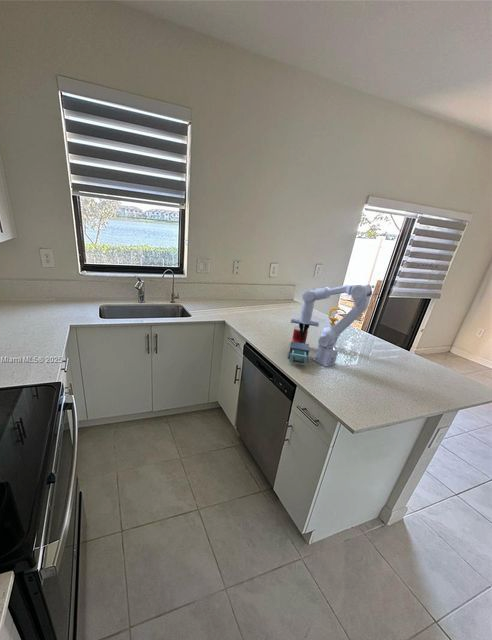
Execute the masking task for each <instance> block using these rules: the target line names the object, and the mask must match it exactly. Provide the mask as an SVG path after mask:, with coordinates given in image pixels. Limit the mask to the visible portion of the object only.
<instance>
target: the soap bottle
mask: <svg viewBox="0 0 492 640" xmlns="http://www.w3.org/2000/svg"><path fill="white" fill-rule="evenodd" d="M340 309H341V308H340V307H339V306H334V307H331V308H330V309H329V312H328V318H329V320H330V321H331V322H329V324H328V326H326V327H324V328H323V329H322V332H321V335H320V336H322V335H325V334H326V333H327V332H328V331H330V330H331V329H332V328H333V327H334V326H335V325H336V323H335V322H336V321H337V322H339V318H337V317H332V316H331V315H332V312H333V311H336V310H340ZM336 346H337V341H336V342H335V343H334V349H335V350H336Z"/></svg>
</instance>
